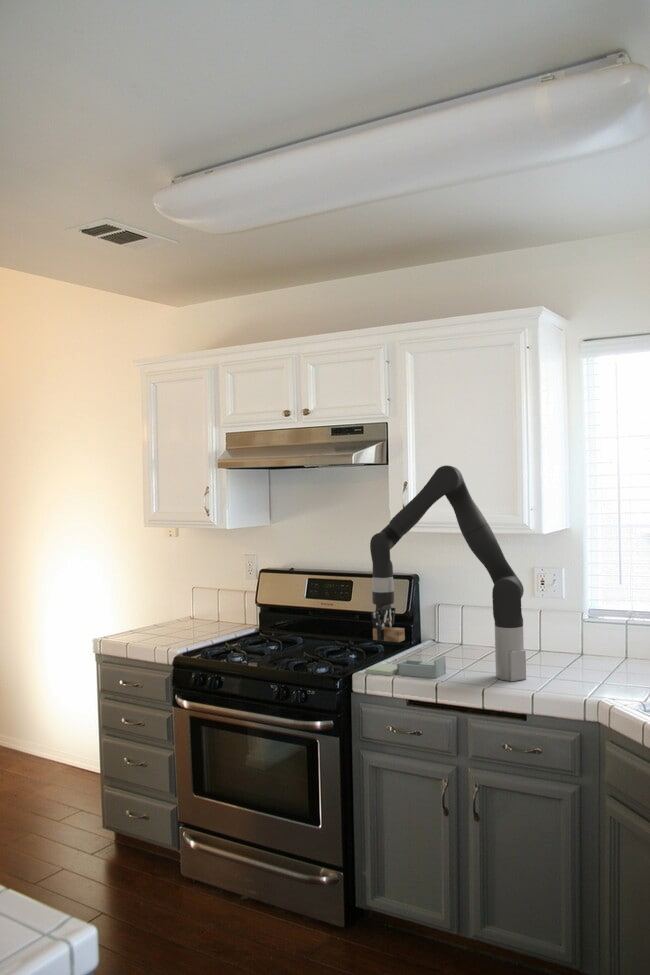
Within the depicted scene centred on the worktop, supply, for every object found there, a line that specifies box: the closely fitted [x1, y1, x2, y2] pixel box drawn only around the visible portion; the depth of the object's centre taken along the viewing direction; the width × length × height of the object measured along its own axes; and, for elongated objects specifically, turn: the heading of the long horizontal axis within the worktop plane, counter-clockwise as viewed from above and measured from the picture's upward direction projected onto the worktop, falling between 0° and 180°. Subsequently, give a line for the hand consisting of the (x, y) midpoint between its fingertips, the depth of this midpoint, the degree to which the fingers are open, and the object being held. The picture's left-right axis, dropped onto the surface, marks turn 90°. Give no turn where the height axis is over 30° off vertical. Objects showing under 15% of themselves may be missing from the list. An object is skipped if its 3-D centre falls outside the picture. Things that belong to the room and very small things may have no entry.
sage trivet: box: [364, 663, 397, 676], centre depth 290 cm, size 10×10×1 cm
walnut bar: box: [372, 627, 406, 643], centre depth 289 cm, size 10×4×4 cm, turn 58°
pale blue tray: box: [396, 655, 447, 679], centre depth 285 cm, size 14×8×6 cm, turn 59°
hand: (384, 639), depth 290 cm, fingers closed on walnut bar, 4 cm apart
